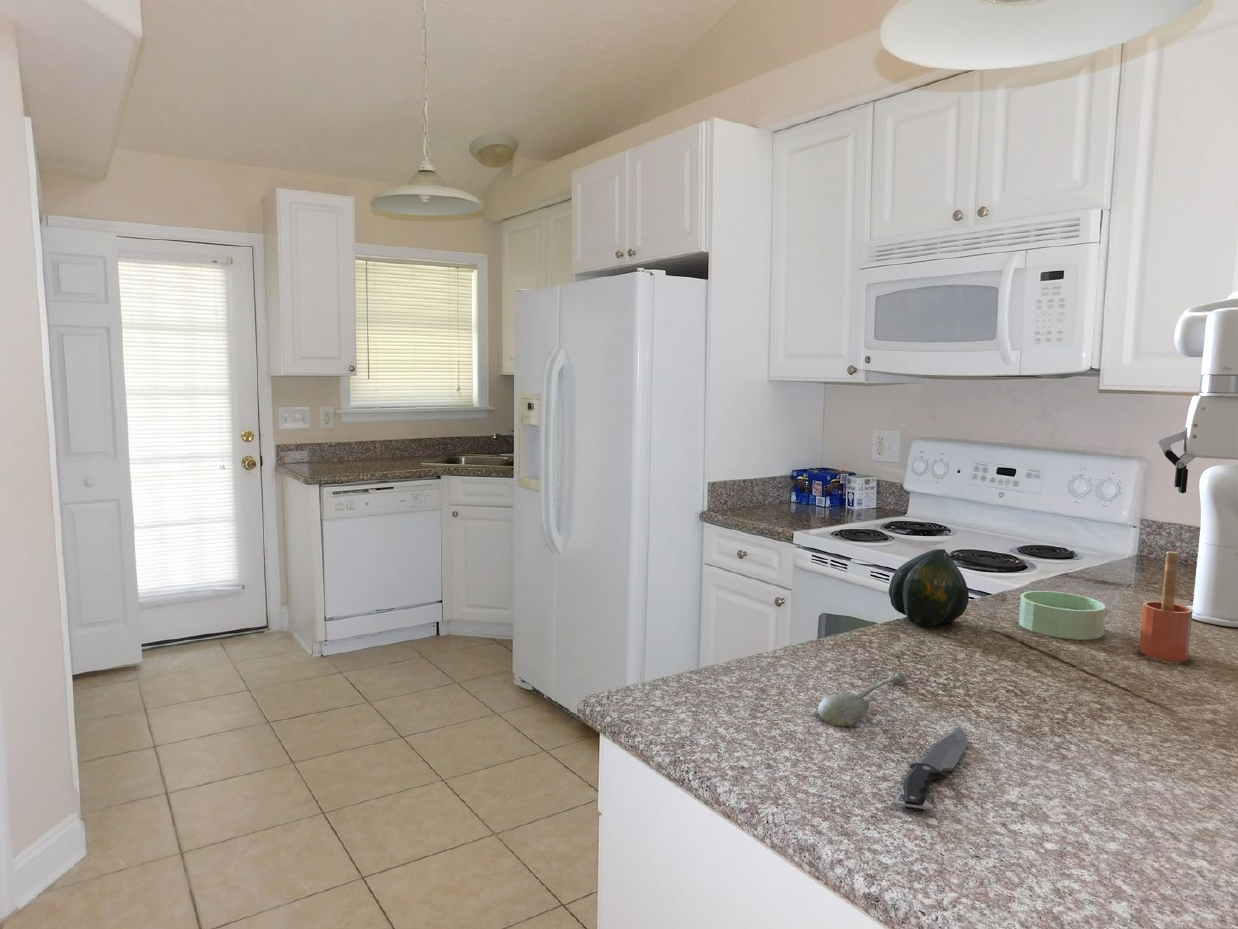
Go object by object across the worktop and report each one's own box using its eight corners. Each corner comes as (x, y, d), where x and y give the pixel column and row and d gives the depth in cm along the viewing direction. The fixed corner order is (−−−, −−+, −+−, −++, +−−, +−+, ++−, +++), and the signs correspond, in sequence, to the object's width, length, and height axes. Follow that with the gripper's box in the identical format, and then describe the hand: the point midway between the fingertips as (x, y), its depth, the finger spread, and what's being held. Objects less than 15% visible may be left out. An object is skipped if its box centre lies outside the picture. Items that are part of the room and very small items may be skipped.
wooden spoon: (1151, 651, 142) (1160, 550, 140) (1159, 651, 142) (1169, 550, 140) (1166, 657, 139) (1176, 554, 137) (1174, 656, 139) (1184, 554, 138)
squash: (872, 596, 156) (931, 543, 151) (878, 582, 170) (932, 533, 165) (927, 652, 152) (990, 600, 148) (929, 633, 166) (986, 585, 162)
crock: (1162, 649, 145) (1166, 600, 144) (1197, 663, 138) (1202, 611, 137) (1129, 651, 143) (1133, 602, 142) (1163, 665, 137) (1168, 613, 136)
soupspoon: (807, 721, 112) (851, 738, 108) (809, 698, 111) (853, 715, 107) (881, 676, 128) (921, 689, 123) (883, 656, 127) (923, 668, 123)
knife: (986, 736, 106) (947, 726, 109) (987, 729, 106) (947, 719, 109) (927, 819, 86) (880, 803, 89) (928, 810, 86) (881, 795, 89)
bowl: (1063, 618, 163) (1066, 589, 163) (1121, 641, 149) (1124, 609, 149) (1002, 621, 160) (1004, 592, 159) (1055, 644, 146) (1057, 612, 146)
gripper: (1292, 388, 127) (1280, 497, 129) (1160, 386, 135) (1151, 488, 137) (1305, 388, 120) (1292, 502, 122) (1166, 386, 129) (1156, 492, 130)
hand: (1218, 494), depth 130 cm, fingers open, 9 cm apart
